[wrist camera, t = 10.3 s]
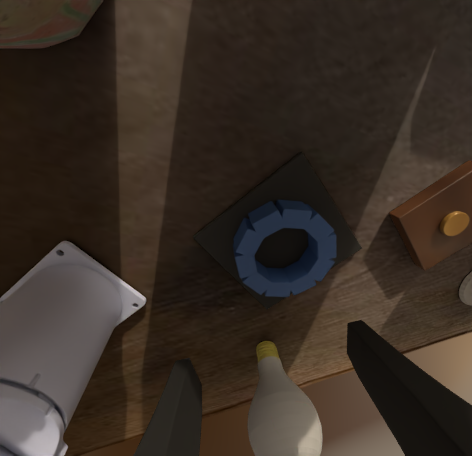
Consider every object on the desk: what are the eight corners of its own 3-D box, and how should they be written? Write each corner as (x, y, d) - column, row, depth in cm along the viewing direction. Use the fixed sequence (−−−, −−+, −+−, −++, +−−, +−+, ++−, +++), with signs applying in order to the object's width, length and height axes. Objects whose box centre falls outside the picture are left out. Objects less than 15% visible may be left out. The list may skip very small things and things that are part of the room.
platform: (413, 263, 21) (428, 274, 20) (388, 212, 19) (402, 220, 17) (485, 220, 20) (506, 228, 18) (468, 159, 17) (491, 163, 16)
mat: (266, 306, 22) (266, 309, 21) (193, 235, 18) (192, 238, 18) (359, 245, 20) (362, 248, 19) (300, 151, 16) (302, 152, 16)
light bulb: (259, 316, 22) (291, 450, 13) (300, 335, 24) (353, 465, 15) (228, 350, 24) (237, 489, 15) (268, 365, 26) (299, 499, 17)
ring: (278, 294, 21) (284, 311, 19) (213, 248, 18) (213, 262, 16) (343, 239, 19) (357, 252, 17) (281, 178, 16) (290, 185, 14)
